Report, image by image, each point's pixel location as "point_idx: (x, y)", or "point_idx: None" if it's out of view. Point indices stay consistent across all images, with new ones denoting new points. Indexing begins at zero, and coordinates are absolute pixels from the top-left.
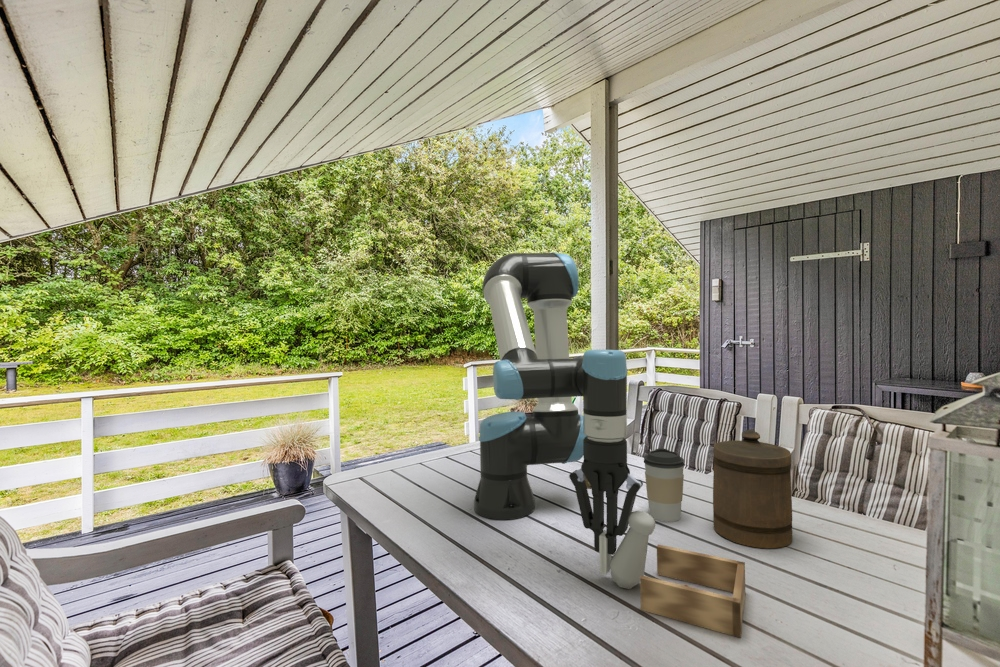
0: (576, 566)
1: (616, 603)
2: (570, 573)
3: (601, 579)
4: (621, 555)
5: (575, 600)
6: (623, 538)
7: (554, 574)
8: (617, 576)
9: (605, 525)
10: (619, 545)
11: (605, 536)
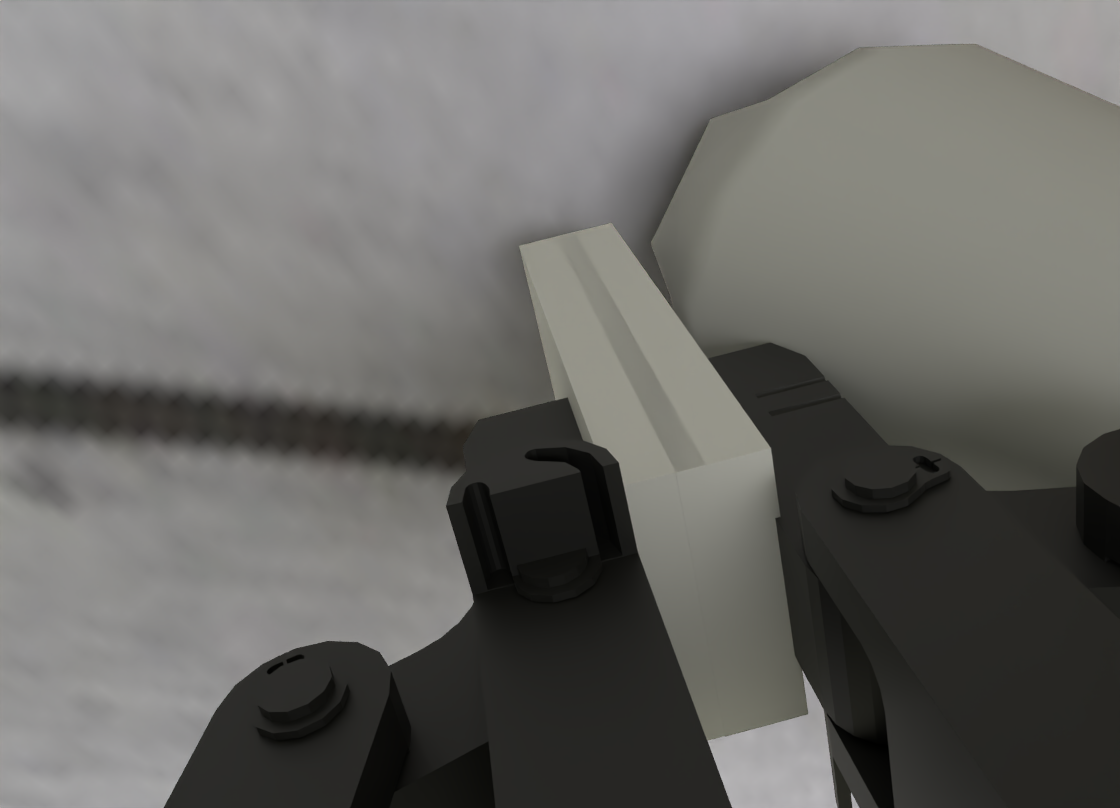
0: (108, 264)
1: None
2: (180, 439)
3: (525, 308)
4: None
5: None
6: (1075, 484)
7: (70, 567)
8: None
9: (613, 457)
10: (914, 419)
11: (777, 696)
